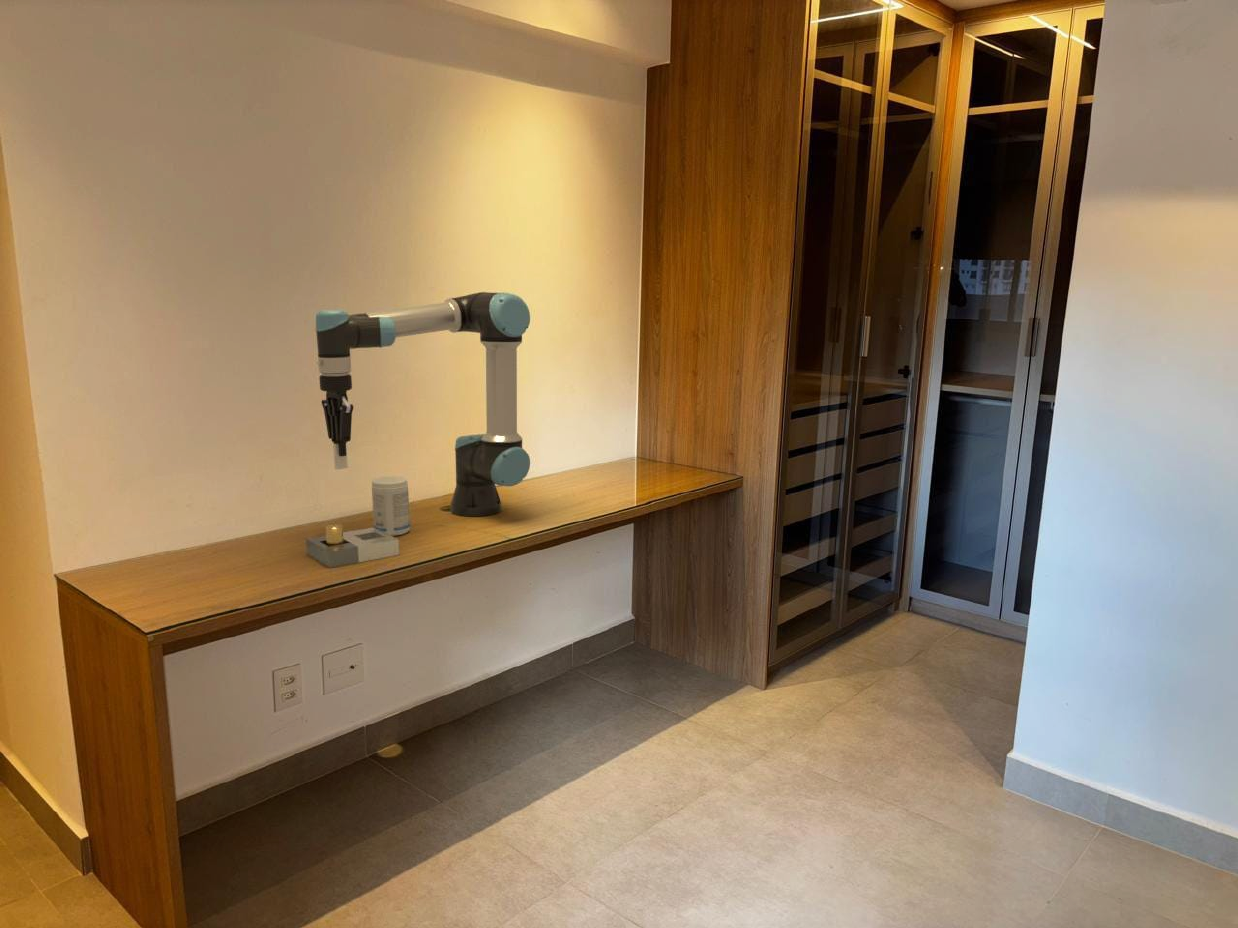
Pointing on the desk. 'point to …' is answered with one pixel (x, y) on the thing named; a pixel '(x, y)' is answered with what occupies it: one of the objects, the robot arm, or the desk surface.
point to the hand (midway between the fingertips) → (341, 468)
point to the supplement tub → (391, 505)
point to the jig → (353, 547)
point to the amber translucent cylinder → (334, 535)
